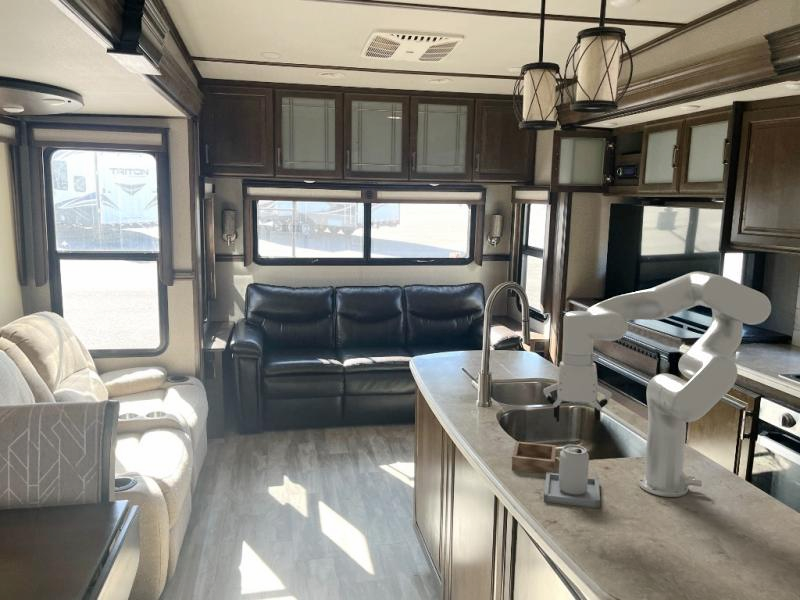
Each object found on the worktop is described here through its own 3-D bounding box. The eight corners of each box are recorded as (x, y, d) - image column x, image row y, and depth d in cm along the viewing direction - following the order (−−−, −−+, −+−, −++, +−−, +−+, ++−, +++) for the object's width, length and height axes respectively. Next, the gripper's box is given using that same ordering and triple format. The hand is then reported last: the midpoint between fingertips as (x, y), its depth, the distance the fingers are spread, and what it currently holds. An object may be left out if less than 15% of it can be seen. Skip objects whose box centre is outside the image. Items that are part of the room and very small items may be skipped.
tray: (598, 484, 172) (598, 478, 172) (599, 508, 159) (600, 501, 158) (546, 478, 176) (546, 472, 175) (543, 501, 162) (543, 494, 162)
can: (588, 498, 163) (590, 455, 161) (559, 495, 164) (560, 453, 162) (585, 485, 170) (587, 444, 168) (557, 483, 171) (559, 442, 169)
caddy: (555, 457, 189) (555, 445, 189) (554, 474, 178) (554, 461, 177) (515, 453, 193) (516, 441, 192) (511, 469, 181) (512, 456, 181)
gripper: (612, 356, 162) (610, 418, 165) (544, 353, 167) (543, 414, 170) (613, 364, 155) (611, 429, 158) (542, 361, 160) (542, 424, 163)
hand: (576, 421), depth 164 cm, fingers open, 9 cm apart
